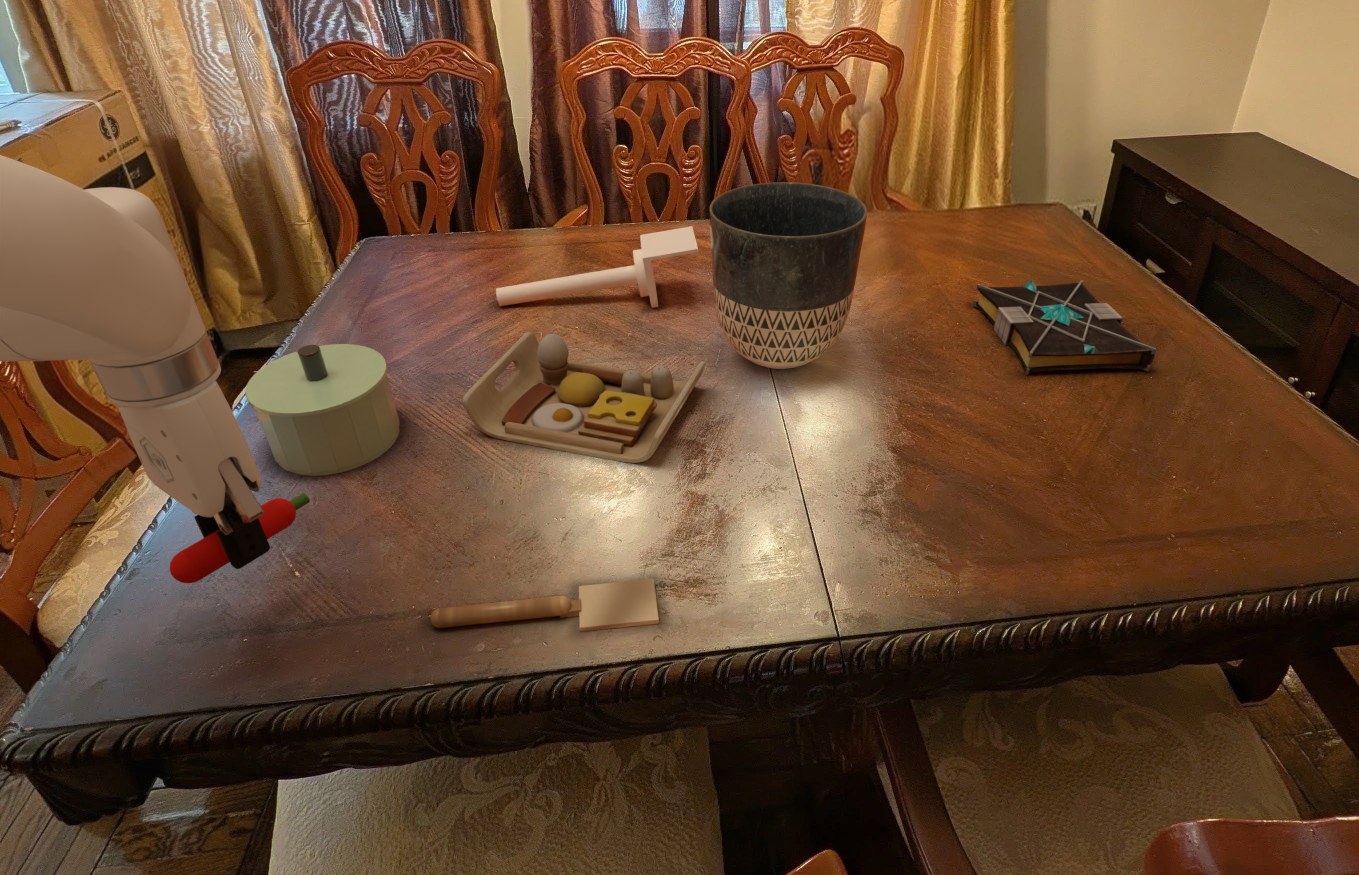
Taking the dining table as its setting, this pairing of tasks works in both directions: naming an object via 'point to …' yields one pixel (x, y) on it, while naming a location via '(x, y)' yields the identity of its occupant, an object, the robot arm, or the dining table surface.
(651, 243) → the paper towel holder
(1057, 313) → the book
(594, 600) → the spatula
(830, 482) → the dining table surface
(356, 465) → the pot
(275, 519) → the chili pepper
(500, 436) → the toy food set
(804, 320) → the planter
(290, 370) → the pot lid
